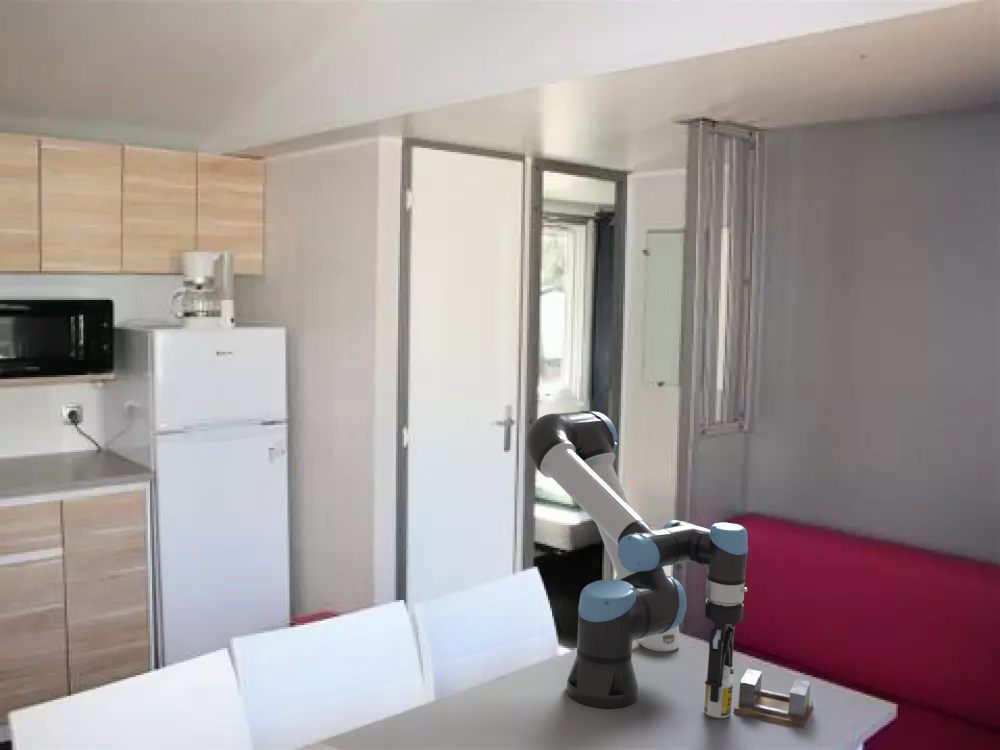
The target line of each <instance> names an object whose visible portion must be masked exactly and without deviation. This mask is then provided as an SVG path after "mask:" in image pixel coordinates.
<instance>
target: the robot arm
mask: <svg viewBox="0 0 1000 750" xmlns="http://www.w3.org/2000/svg"><path fill="white" fill-rule="evenodd" d="M527 431H528V432H527V434H526V439H525V440H526V441H525V444H526V451H527V455H528V457H529V459H530V461H531V463H532V465H534V467H535V468H536V470H538V471H539V472H540V474H542V475H543V476H544V477H545V478H549V479H550V478H552V479H553V480H554V481H555V482H556V483H557V484H558V485H559V487H561V489H562V490H563V491H565V493H566V494H567V495H568V496H570V498H571V499H572V500H573V501H574V503H576V504H577V505H578V506H579V507H580V508H581V509H582V510H583V511H584V512H585V513H586V514H587V516H588V517H590V519H592V521H594V522H595V524H596V526H597V528H598V531H599V534H600V537H601V538H602V541H603V544H604V546H605V549H606V551H607V553H608V556H609V559H610V561H611V563H612V566H613V569H614V571H615V574H616V575H615V578H613V579H609V580H606V579H600V580H595V581H593V582H590V583H589V584H587V585H585V587H584V588H582V590H581V592H580V597H579V602H578V607H577V611H578V612H577V613H578V616H577V617H578V619H577V641H576V642H577V644H576V645H577V646H576V656H575V658H574V659H575V660H574V661H573V664H572V667H571V669H570V672H569V674H568V677H567V681H566V693H567V694H568V696H569V697H570V698H571V699H573V700H574V701H576V702H578V703H580V704H583V705H587V706H588V707H589V706H590V707H594V708H603V709H614V708H616V709H617V708H622V707H627V706H629V705H632V704H634V702H636V701H637V700H638V697H639V692H638V691H639V684H638V679H637V677H636V673H635V669H634V668H635V667H634V665H633V661H632V660H633V658H632V656H633V642H634V641H635V640H637V639H638V640H640V639H641V638H645V637H648V636H651V635H655V634H662V633H665V632H666V631H668V630H671V629H674V628H675V627H677V626H678V625H680V624H681V623H682V622H683V620H684V618H685V612H687V595H686V593H685V589H684V587H683V586H682V584H681V583H680V581H679V580H677V579H675V577H673V576H670V575H666V573H665V570H664V567H667V566H672V565H673V566H674V565H677V564H681V563H686V562H690V563H695V564H698V565H701V566H704V567H707V573H706V574H707V576H706V587H705V589H706V591H705V597H706V599H705V604H704V605H705V610H704V615H705V618H706V619H707V620H708V621H711V622H713V624H714V626H713V627H711V630H710V637H709V640H708V647H709V648H708V649H709V651H708V661H707V662H708V663H707V675H706V678H707V681H706V680H705V681H704V685H706V684H707V685H709V692H708V708H707V714H706V715H707V716H709V715H711V716H715V717H721V711H722V696H723V685H722V679H723V670H724V665H726V666H728V667H729V668H730V676H729V677H730V678H731V675H734V672H735V669H733V668H732V667H733V659H734V658H733V656H734V643H735V640H734V639H735V629H736V625H737V624H739V623H741V622H742V621H743V617H744V603H743V601H744V598H745V593H747V592H748V588H747V587H746V586H745V585H746V584H745V583H746V568H747V567H746V566H747V558H748V552H749V547H748V535H749V534H748V531H747V529H746V528H745V527H744V526H742V525H740V524H737V523H729V522H716V523H713V524H712V525H711V526H710V528H706V527H702V526H700V525H696V524H694V523H691V522H688V521H683V520H681V521H680V520H677V519H673V520H670V521H668V522H666V524H665V525H663V526H662V527H661V528H660V529H653V528H652V527H651V526H650V525H649V524H648V523H647V522H646V521H645V520H644V519H643V518H642V517H641V516H640V515H639V514H638V513H637V512H636V511H635V510H634V509H633V508H632V507H631V506H630V504H629V501H628V499H627V497H626V494H625V492H624V489H623V487H622V485H621V482H620V480H619V477H618V475H617V473H616V471H615V468H614V465H613V464H614V461H615V459H616V457H617V456H616V454H615V451H616V449H617V445H618V443H617V442H616V441H618V434H617V430H616V428H615V425H614V424H613V422H612V421H611V420H610V419H609V417H607V416H606V415H605V414H604V413H601V412H599V411H593V410H592V411H590V410H580V411H575V412H564V413H563V412H561V413H548V414H544V415H542V416H540V417H539V418H538V419H536V420H535V421H534V422H533V423H532V424H531V426H530V427H529V429H528V430H527ZM711 716H710V717H711Z"/></svg>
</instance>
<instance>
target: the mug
mask: <svg viewBox="0 0 1000 750" xmlns="http://www.w3.org/2000/svg"><path fill="white" fill-rule="evenodd" d="M679 625H680V624H679ZM679 625H678V626H677V627H675V628H674V629H671V630H668V631H666V632H665V633H662V634H655V635H651V636H648V637H645V638H641V639H637V640H634V641H635V643H636V644H640V645H641V646H642V647H643V648H645V649H647V650H649V651H654V652H661V653H667V652H673V651H676V650H677V649H678V648H679V647H680V642H681V641H680V626H679Z"/></svg>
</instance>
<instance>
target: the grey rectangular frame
mask: <svg viewBox="0 0 1000 750" xmlns="http://www.w3.org/2000/svg"><path fill="white" fill-rule="evenodd" d="M762 675H763V671H760V670H757V669H751V668H747V669H746V672H745V673H744V674H743V676H742V678H741V680H740V681H739V696H738V700H739V705H741V706H745V707H750V708H753V710H757V711H761V712H766V713H770V714H775V715H779V716H784V717H787V716H790V717H795V718H799V719H804V716H805V713H806V711H807V708H808V705H809V701H810V694H811V693H810V692H811V683H812V682H811V681H810V680H805V679H799V678H795V679H794V682H793V685H792V687H791V689H790V691H789V694H785V693H781V692H776V691H771V690H766V689H762V679H763V676H762ZM760 693H761V695H763V696H768V697H772V698H777V699H782V700H786V701H789V710H788V711H785V710H781V709H776V708H772V707H767V706H762V705H758V704H756V702H757V700H758V698H759V696H760Z"/></svg>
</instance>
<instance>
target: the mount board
mask: <svg viewBox="0 0 1000 750" xmlns="http://www.w3.org/2000/svg"><path fill="white" fill-rule="evenodd" d="M756 704H758V705H762V706H767V707H772V708H776V709H781V710H785V711H788V710H789V701H786V700H782V699H777V698H772V697H768V696H763V695H761V693H760V696H759V698H758V700H757V702H756ZM812 709H813V700H809V705H808V708H807V711H806V713H805V716H804V719H799V718H795V717H790V716H787V717H784V716H779V715H775V714H770V713H766V712H761V711H757V710H753V708H750V707H745V706H741V705H739V699H738V701H737V703H736V704H735V705H734V708H733V713H734V714H738V715H742V716H747V717H750V718H756V719H759V720H764V721H768V722H773V723H777V724H782V725H787V726H791V727H794V728H800V729H805V727H806V724H807V722H808V718H809V717H810V713H811V711H812Z"/></svg>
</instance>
